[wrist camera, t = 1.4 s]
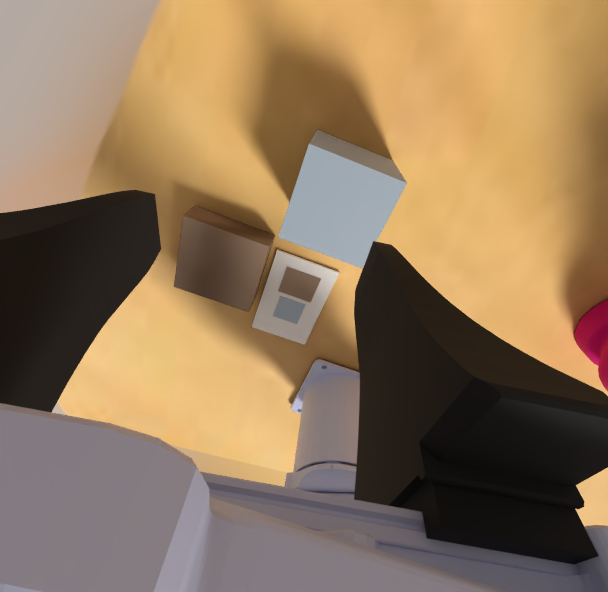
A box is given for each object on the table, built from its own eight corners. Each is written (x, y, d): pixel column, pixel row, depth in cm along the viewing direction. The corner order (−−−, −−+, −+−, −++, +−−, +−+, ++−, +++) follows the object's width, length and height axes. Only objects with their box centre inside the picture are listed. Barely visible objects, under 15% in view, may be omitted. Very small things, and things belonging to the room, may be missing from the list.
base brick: (274, 235, 23) (269, 246, 22) (254, 297, 27) (248, 312, 25) (195, 205, 23) (183, 215, 21) (184, 273, 26) (173, 286, 24)
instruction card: (339, 271, 24) (339, 273, 24) (304, 343, 29) (304, 345, 29) (277, 249, 24) (276, 250, 24) (252, 325, 28) (251, 327, 28)
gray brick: (392, 160, 20) (406, 182, 15) (358, 231, 23) (362, 268, 18) (317, 129, 19) (308, 143, 15) (292, 205, 22) (278, 237, 18)
